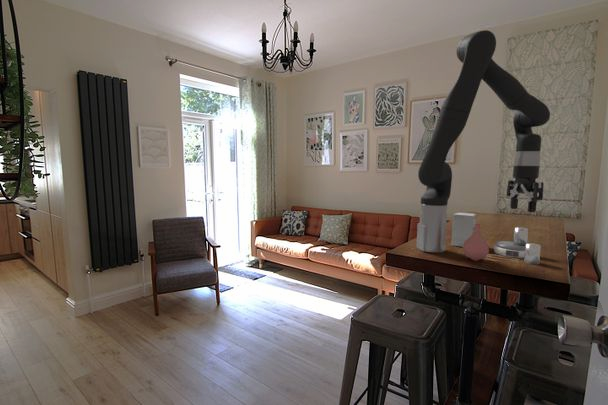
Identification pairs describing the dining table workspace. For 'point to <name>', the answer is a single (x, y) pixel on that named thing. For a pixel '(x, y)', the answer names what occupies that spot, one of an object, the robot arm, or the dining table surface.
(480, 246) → the pink rounded bulb
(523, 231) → the steel spacer
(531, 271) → the dining table surface
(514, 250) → the scale
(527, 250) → the steel spacer
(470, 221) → the supplement box
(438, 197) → the robot arm
